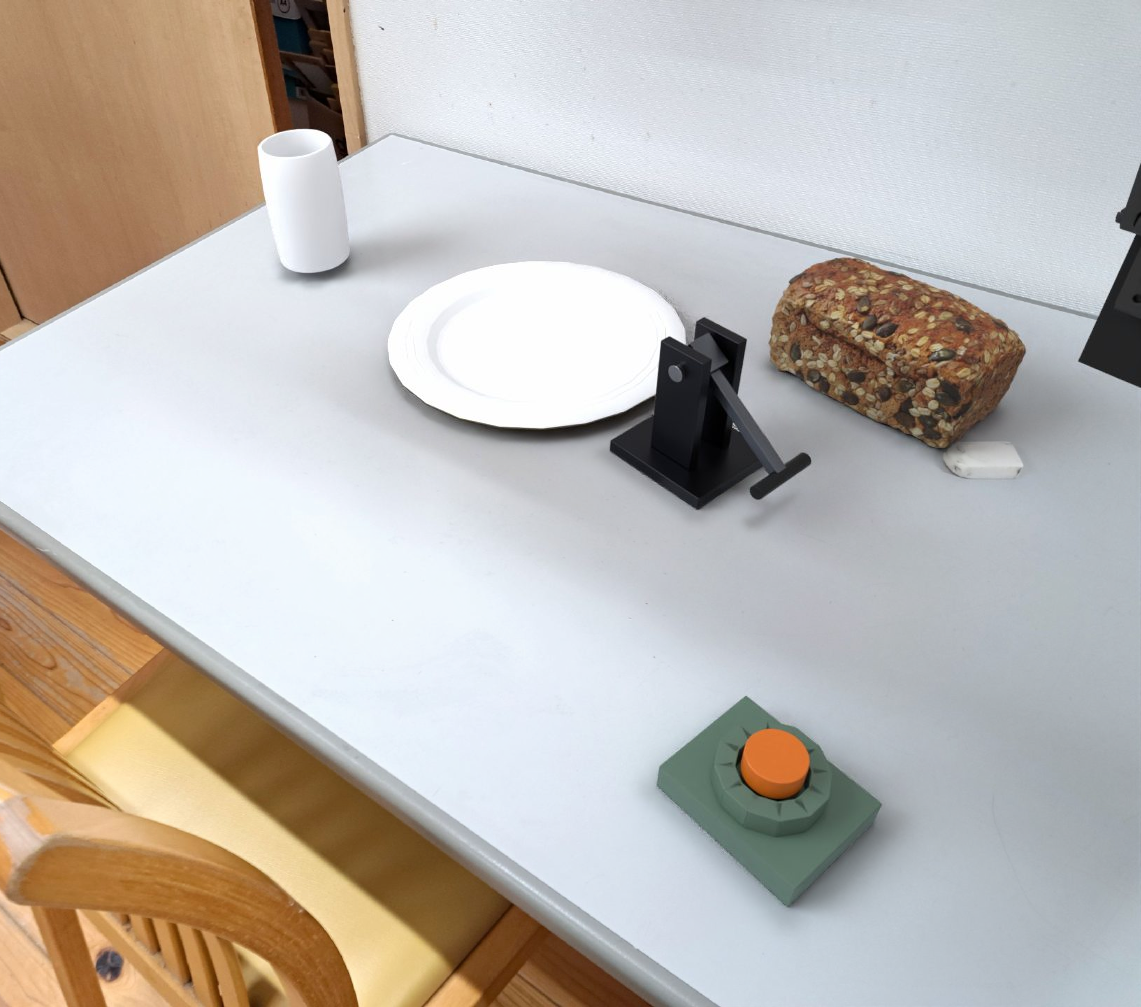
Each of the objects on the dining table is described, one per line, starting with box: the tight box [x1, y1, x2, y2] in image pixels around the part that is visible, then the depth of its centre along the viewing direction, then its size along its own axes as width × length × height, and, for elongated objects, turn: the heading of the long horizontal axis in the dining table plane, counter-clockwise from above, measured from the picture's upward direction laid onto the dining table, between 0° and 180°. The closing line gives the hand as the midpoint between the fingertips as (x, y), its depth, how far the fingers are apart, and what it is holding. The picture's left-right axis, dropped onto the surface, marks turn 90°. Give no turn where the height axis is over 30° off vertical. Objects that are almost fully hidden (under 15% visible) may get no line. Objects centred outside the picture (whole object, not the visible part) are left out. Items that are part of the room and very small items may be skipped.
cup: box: [257, 128, 351, 274], centre depth 105 cm, size 8×8×14 cm
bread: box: [767, 256, 1027, 449], centre depth 84 cm, size 19×11×10 cm, turn 39°
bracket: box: [609, 316, 763, 510], centre depth 78 cm, size 10×9×12 cm
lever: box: [686, 333, 812, 501], centre depth 75 cm, size 13×6×2 cm
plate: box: [387, 260, 687, 431], centre depth 94 cm, size 29×29×2 cm
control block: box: [656, 695, 883, 908], centre depth 57 cm, size 10×8×4 cm
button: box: [741, 729, 810, 799], centre depth 55 cm, size 4×4×2 cm
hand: (1117, 367), depth 41 cm, fingers closed
